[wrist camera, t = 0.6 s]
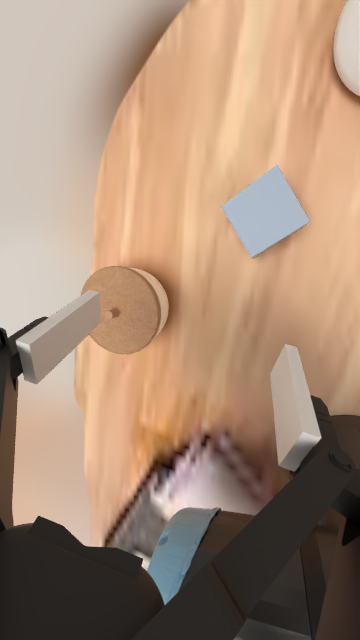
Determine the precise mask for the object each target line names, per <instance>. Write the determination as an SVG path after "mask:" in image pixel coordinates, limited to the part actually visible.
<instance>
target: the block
mask: <svg viewBox="0 0 360 640" xmlns="http://www.w3.org/2000/svg"><path fill="white" fill-rule="evenodd" d="M221 208H222V209H223V211H224V213H225V214H226V216H227V218H228V219H229V221H230V223H231V224H232V226H233V228H234V230H235V231H236V233H237V235H238V236H239V238H240V240H241V241H242V243H243V245H244V246H245V248H246V250H247V251H248V253H249V255H250V256H251V258H255V257H256V256H258V255H260V254H261V253H263V252H264V251H266V250H268V249H269V248H271V247H272V246H274V245H276V244H277V243H279V242H280V241H282V240H284V239H285V238H287V237H288V236H290V235H292V234H293V233H295V232H296V231H298V230H300V229H301V228H302V227H304V226H305V225H306V224H307V223H309V222H310V220H309V219H308V217H307V215H306V213H305V212H304V210H303V208H302V206H301V205H300V203H299V201H298V200H297V198H296V196H295V194H294V193H293V191H292V189H291V188H290V186H289V184H288V182H287V181H286V179H285V177H284V176H283V174H282V172H281V170H280V169H279V167H278V165H276V166H275V167H273V168H272V169H271V170H269V171H268V172H267V173H265V174H264V175H263V176H261V177H260V178H259V179H257V180H256V181H255V182H253V183H252V184H251V185H249V186H248V187H247V188H245V189H244V190H243V191H241V192H240V193H239V194H237V195H236V196H235V197H233V198H232V199H231V200H229V201H228V202H227V203H225V204H224V205H223V206H221Z"/></svg>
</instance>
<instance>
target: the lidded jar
mask: <svg viewBox="0 0 360 640" xmlns="http://www.w3.org/2000/svg"><path fill="white" fill-rule="evenodd" d="M88 290H93V291H97V292H100V324H99V325H98V326H97V327H96V328H95V329H94V330H93V331H92V332H91V333H90V334H89V335H90V336H91V338H92V339H93V340H94V341H95V342H96V343H97V344H98V345H100V346H101V347H103V348H104V349H106V350H108V351H110V352H113V353H116V354H131V353H135V352H138V351H140V350H141V349H143V348H144V347H146V346H147V345H148V344H149V343H150V342H151V341H152V340H153V339H154V338H155V337H156V336H157V335H158V334H159V333H160V331H161V330H162V329H163V327H164V325H165V323H166V320H167V317H168V311H169V304H168V298H167V295H166V292H165V290H164V288H163V287H162V285H161V284H160V282H159V281H158V280H157V279H156V278H155V277H153V276H152V275H151V274H149V273H147V272H145V271H143V270H140V269H136V268H131V267H121V266H111V267H105V268H103V269H100V270H98V271H97V272H95V273H94V274H93V275H91V276H90V277H89V279H88V280H87V281H86V283H85V285H84V287H83V289H82V292H81V295H82V294H84V293H85V292H87V291H88Z"/></svg>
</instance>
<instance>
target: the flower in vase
mask: <svg viewBox="0 0 360 640" xmlns="http://www.w3.org/2000/svg"><path fill="white" fill-rule="evenodd" d="M333 54H334V62H335V66H336V70H337V72H338V75H339V77H340V78H341V80H342V82H343V83H344V84H345V85H346V87H347V88H348V89H349V90H351V91H352V92H353V93H354V94H356V95H358V96H360V0H347V1H346V3H345V5H344V7H343V9H342V12H341V14H340V17H339V20H338V23H337V26H336V30H335V36H334V44H333Z"/></svg>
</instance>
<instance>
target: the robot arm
mask: <svg viewBox="0 0 360 640" xmlns="http://www.w3.org/2000/svg"><path fill="white" fill-rule="evenodd" d="M99 324H100V292H97V291H93V290H88V291H87V292H85V293H84V294H82V295H81V296H80V297H78V298H77V299H75V300H74V301H72V302H71V303H69V304H68V305H67V306H65V307H64V308H62V309H61V310H59V311H58V312H56V313H55V314H53V315H52V316H51V317H42V318H39V319H36V320H35V321H33V322H32V323H30V324H29V325H27V326H25V327H24V329H21V330H19V331H18V332H16V333H15V334H13V335H12V336H10V337H9V338H7V334H6V330H4V329H3V328H0V640H360V417H357V416H332V417H329V416H330V415H329V412H328V409H327V406H326V405H325V404H324V402H323V401H322V400H321V398H318V397H314V396H311V395H310V393H309V389H308V386H307V382H306V378H305V374H304V371H303V367H302V363H301V359H300V356H299V352H298V348H297V347H295V346H291V345H288V344H285V345H284V347H283V349H282V351H281V353H280V355H279V357H278V359H277V361H276V363H275V365H274V367H273V369H272V371H271V373H270V380H271V390H272V401H273V412H274V423H275V434H276V445H277V455H278V466H279V467H282V468H285V469H288V473H289V478H290V482H289V483H288V484H287V485H286V486H285V487H284V488H283V489H282V490H281V491H280V492H279V493H278V494H277V495H276V496H275V497H274V498H273V499H272V500H271V501H270V502H269V503H268V504H267V505H266V506H265V507H264V508H263V509H262V510H261V511H260V512H259V513H258V514H257V515H256V516H255V515H248V514H241V513H234V512H227V511H221V508H218V507H216V508H214V509H203V508H184V509H182V510H180V511H178V512H177V513H176V514H175V515H174V516H173V517H172V518H171V519H170V521H169V522H168V523H167V525H166V527H165V528H164V530H163V532H162V534H161V536H160V538H159V541H158V543H157V546H156V548H155V550H154V552H153V555H152V558H151V561H150V564H149V567H148V570H147V571H146V570H145V569H144V568H143V567H142V566H141V565H142V562H143V559H142V558H140V557H138V556H135V555H133V554H130V553H128V552H125V551H123V550H121V549H118V548H109V547H88V546H84V545H83V544H82V543H81V542H79V540H77V539H76V538H75V537H74V536H73V535H72V534H71V533H70V532H69V531H68V530H67V529H66V528H65V527H64V526H62V525H60V524H57V523H55V522H53V521H50V520H48V519H45V518H43V517H40V516H38V517H37V519H36V520H35V522H34V523H29V524H22V525H18V526H14V525H13V515H12V493H13V474H14V454H15V436H16V434H15V433H16V416H17V397H18V378H17V377H18V376H19V375H20V374H21V373H23V375H24V380H25V381H29V382H32V383H34V384H38V383H39V382H40V381H41V380H42V379H43V378H44V377H45V376H46V375H47V374H48V373H49V372H50V371H51V370H52V369H53V368H54V367H55V366H57V365H58V364H59V363H60V362H61V361H62V360H63V359H64V358H65V357H66V356H67V355H68V354H69V353H70V352H71V351H72V350H73V349H74V348H75V347H76V346H77V345H78V344H80V343H81V342H82V341H83V340H84V339H85V338H86V337H87V336H88V335H89V334H90V333H91V332H92V331H93V330H94V329H95V328H96V327H97V326H98V325H99Z"/></svg>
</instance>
